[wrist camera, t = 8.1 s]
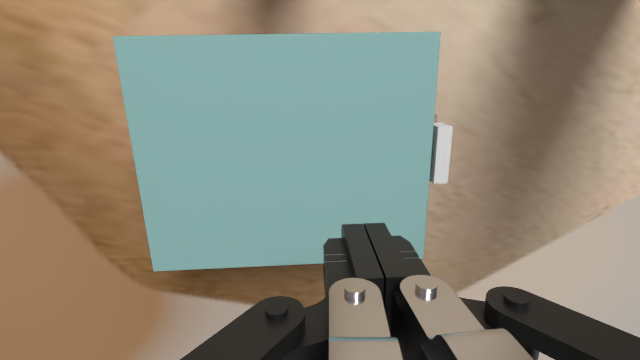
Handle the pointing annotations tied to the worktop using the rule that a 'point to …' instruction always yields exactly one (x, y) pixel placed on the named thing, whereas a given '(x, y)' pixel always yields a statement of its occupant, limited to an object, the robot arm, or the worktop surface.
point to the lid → (280, 141)
